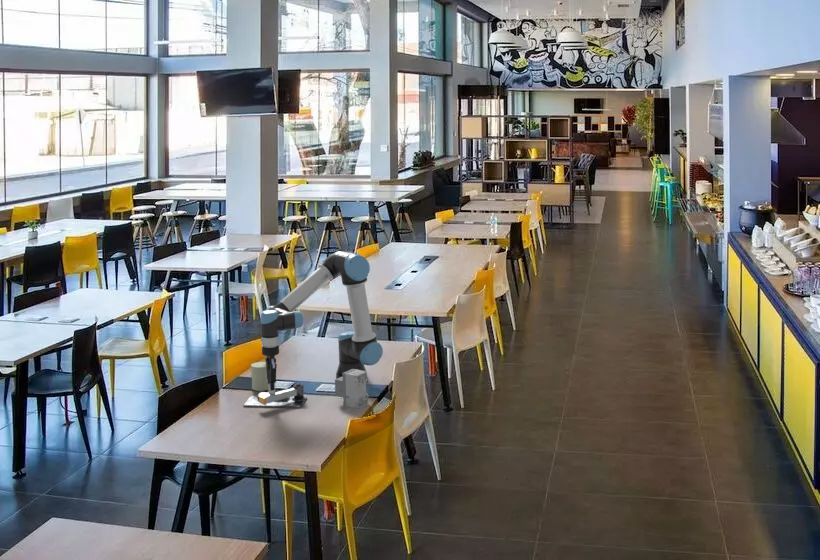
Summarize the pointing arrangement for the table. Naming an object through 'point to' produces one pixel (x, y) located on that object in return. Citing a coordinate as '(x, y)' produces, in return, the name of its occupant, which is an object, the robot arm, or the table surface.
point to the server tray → (275, 402)
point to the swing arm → (283, 394)
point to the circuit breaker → (352, 388)
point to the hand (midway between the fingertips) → (272, 396)
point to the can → (259, 376)
